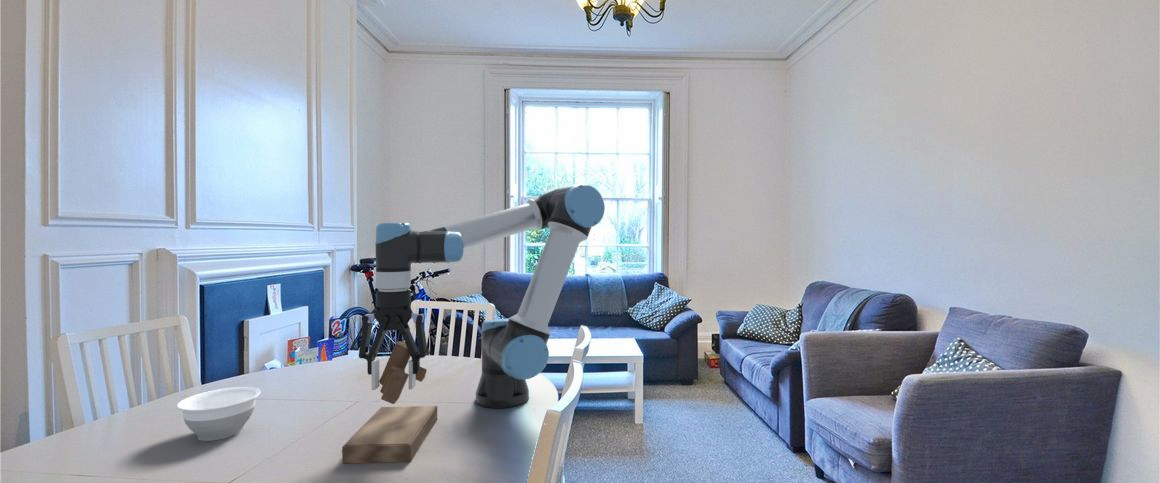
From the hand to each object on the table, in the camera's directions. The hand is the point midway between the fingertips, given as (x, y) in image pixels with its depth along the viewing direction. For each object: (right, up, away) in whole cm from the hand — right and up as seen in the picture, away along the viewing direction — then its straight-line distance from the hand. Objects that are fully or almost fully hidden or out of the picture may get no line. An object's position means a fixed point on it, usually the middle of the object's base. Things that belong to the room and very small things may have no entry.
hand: (393, 387), depth 108 cm
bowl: (-43, -12, +4) cm, 45 cm away
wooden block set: (+1, -1, 0) cm, 1 cm away
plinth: (0, -12, 0) cm, 12 cm away
